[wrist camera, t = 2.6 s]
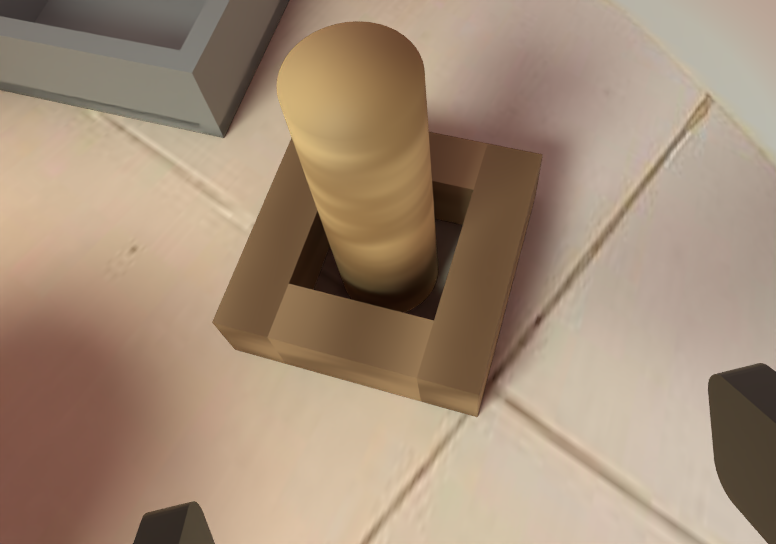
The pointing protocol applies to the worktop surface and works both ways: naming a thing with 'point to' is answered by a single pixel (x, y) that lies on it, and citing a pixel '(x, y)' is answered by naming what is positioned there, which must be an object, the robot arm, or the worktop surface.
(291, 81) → the dowel
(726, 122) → the worktop surface
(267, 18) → the tray
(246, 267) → the socket block
